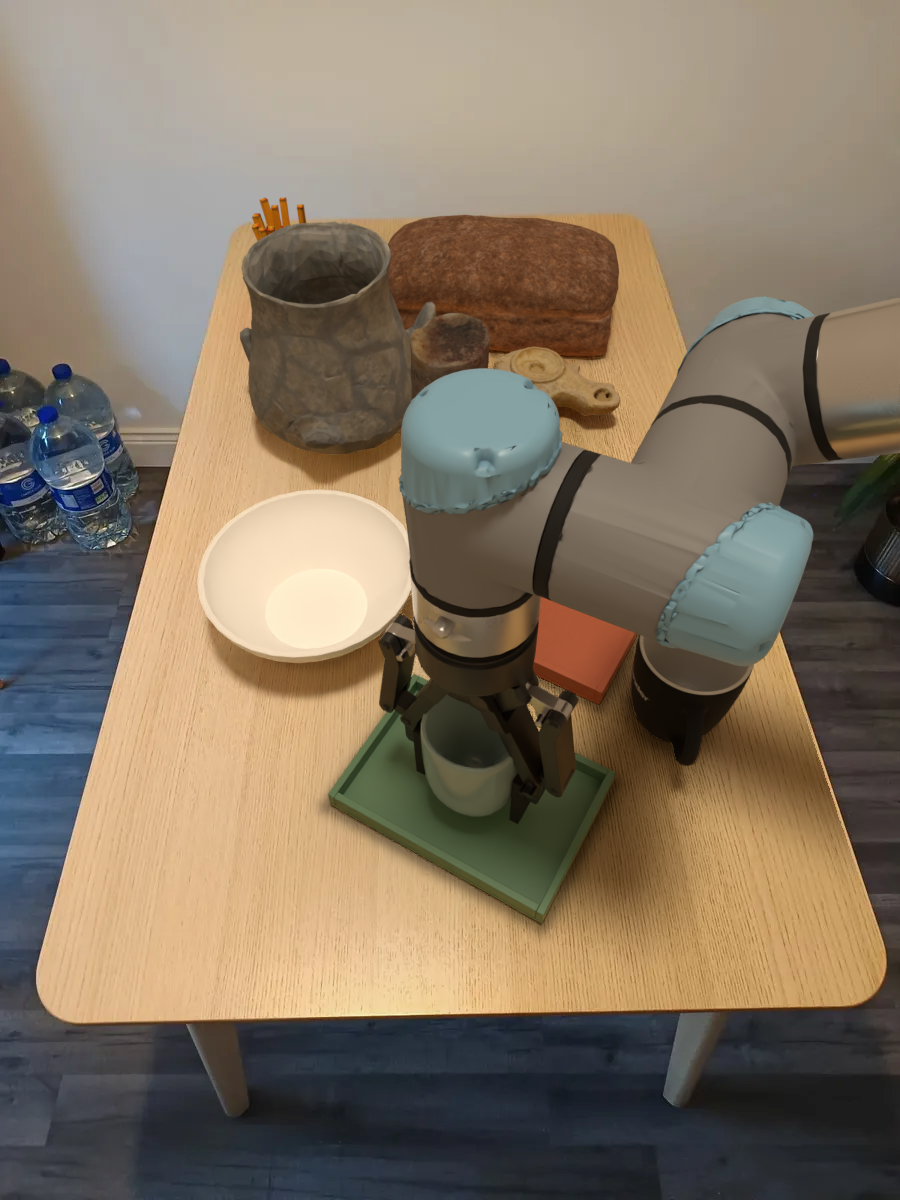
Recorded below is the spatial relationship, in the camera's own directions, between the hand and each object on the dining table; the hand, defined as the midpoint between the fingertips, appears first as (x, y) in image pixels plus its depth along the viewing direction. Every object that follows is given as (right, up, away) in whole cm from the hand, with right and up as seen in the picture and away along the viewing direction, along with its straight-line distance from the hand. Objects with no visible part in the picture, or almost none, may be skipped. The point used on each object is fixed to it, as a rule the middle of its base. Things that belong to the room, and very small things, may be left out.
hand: (474, 783), depth 69 cm
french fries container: (-22, +51, +43) cm, 70 cm away
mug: (+17, +4, +5) cm, 18 cm away
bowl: (-15, +13, +14) cm, 24 cm away
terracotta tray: (+8, +14, +14) cm, 21 cm away
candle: (-2, +26, +23) cm, 35 cm away
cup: (0, 0, 0) cm, 0 cm away
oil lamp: (+10, +38, +32) cm, 51 cm away
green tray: (0, -1, +2) cm, 2 cm away
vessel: (-15, +35, +30) cm, 49 cm away
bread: (+4, +51, +43) cm, 67 cm away
